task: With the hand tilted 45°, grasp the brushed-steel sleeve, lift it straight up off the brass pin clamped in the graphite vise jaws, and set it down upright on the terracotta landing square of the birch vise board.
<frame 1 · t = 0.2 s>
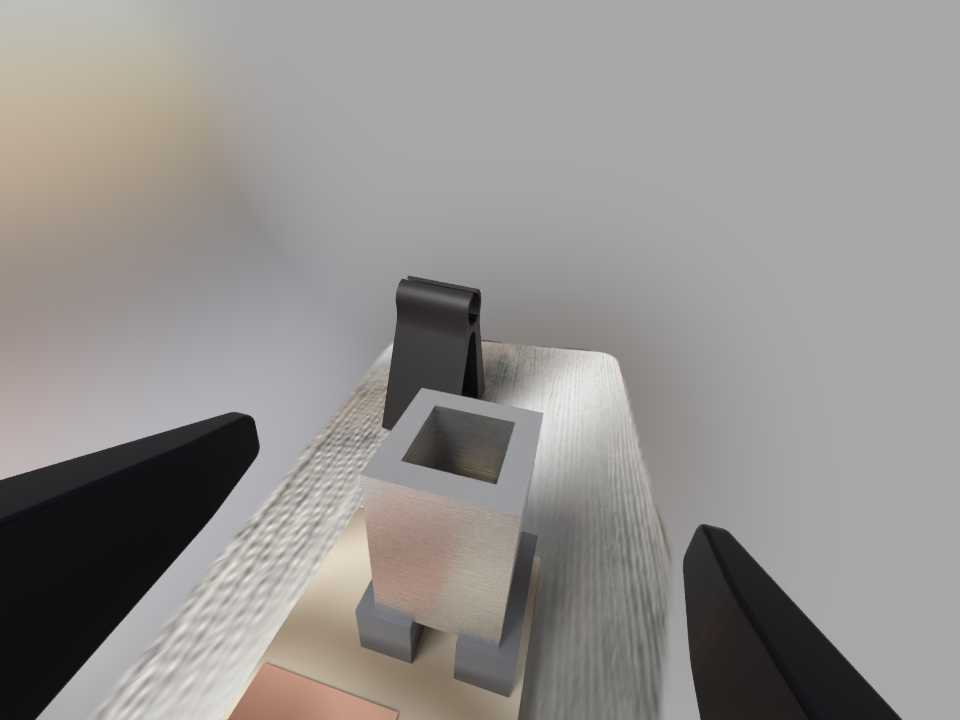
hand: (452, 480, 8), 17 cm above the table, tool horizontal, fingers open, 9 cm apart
steel sleeve: (455, 569, 19), point 4 cm above the table, touching vise board
vise board: (387, 699, 18), on the table
phone stand: (437, 411, 37), on the table
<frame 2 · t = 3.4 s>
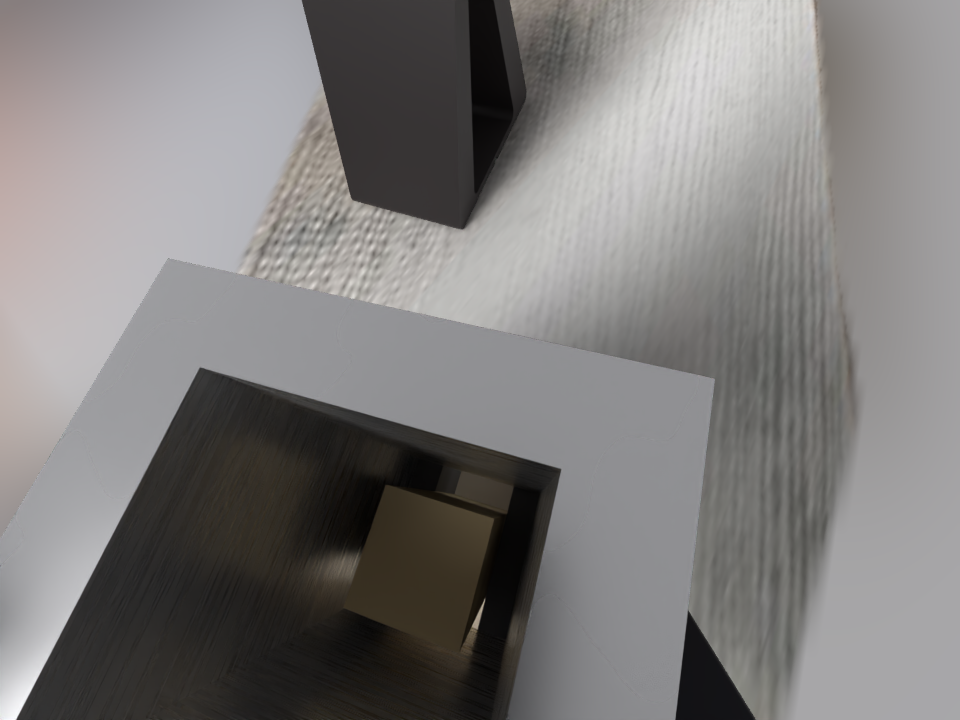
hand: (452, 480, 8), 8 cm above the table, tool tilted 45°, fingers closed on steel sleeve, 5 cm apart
steel sleeve: (458, 541, 10), point 5 cm above the table, touching gripper, vise board
vise board: (397, 636, 14), on the table
phone stand: (443, 152, 21), on the table
when the fingers open (6 cm above the table, at t = 8.6 s): steel sleeve drops 2 cm, resting on vise board.
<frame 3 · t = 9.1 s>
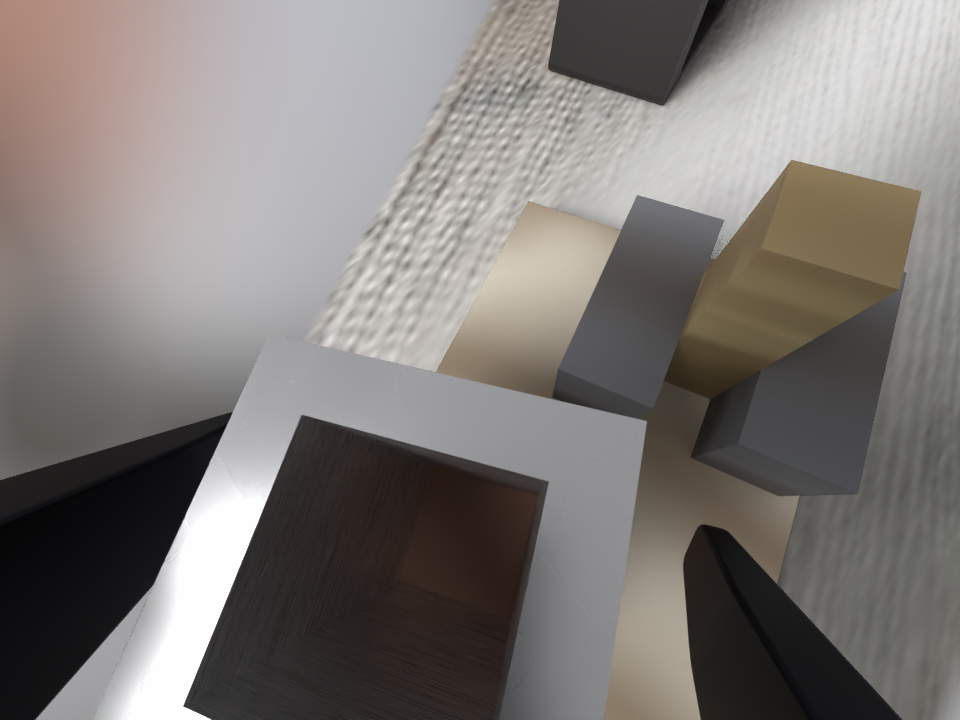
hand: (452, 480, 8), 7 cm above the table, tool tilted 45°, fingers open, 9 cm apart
steel sleeve: (469, 537, 12), point 2 cm above the table, touching vise board
vise board: (585, 453, 14), on the table
phone stand: (641, 36, 21), on the table
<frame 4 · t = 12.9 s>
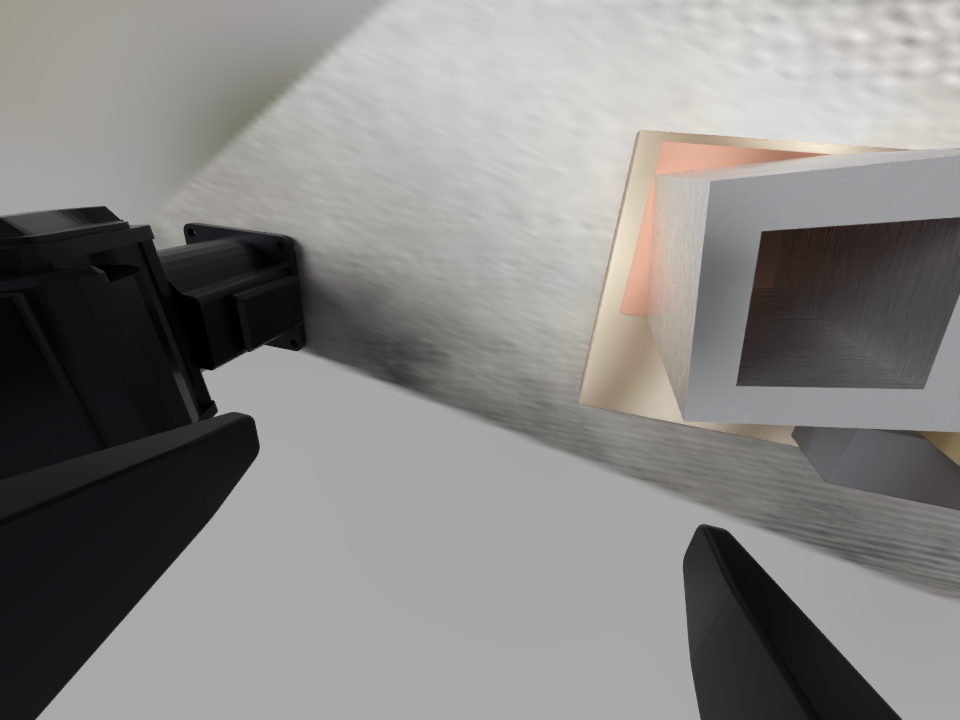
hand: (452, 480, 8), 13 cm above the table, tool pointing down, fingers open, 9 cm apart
steel sleeve: (727, 244, 15), point 2 cm above the table, touching vise board
vise board: (802, 306, 17), on the table
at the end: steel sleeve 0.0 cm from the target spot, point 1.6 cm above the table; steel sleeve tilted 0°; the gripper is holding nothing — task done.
